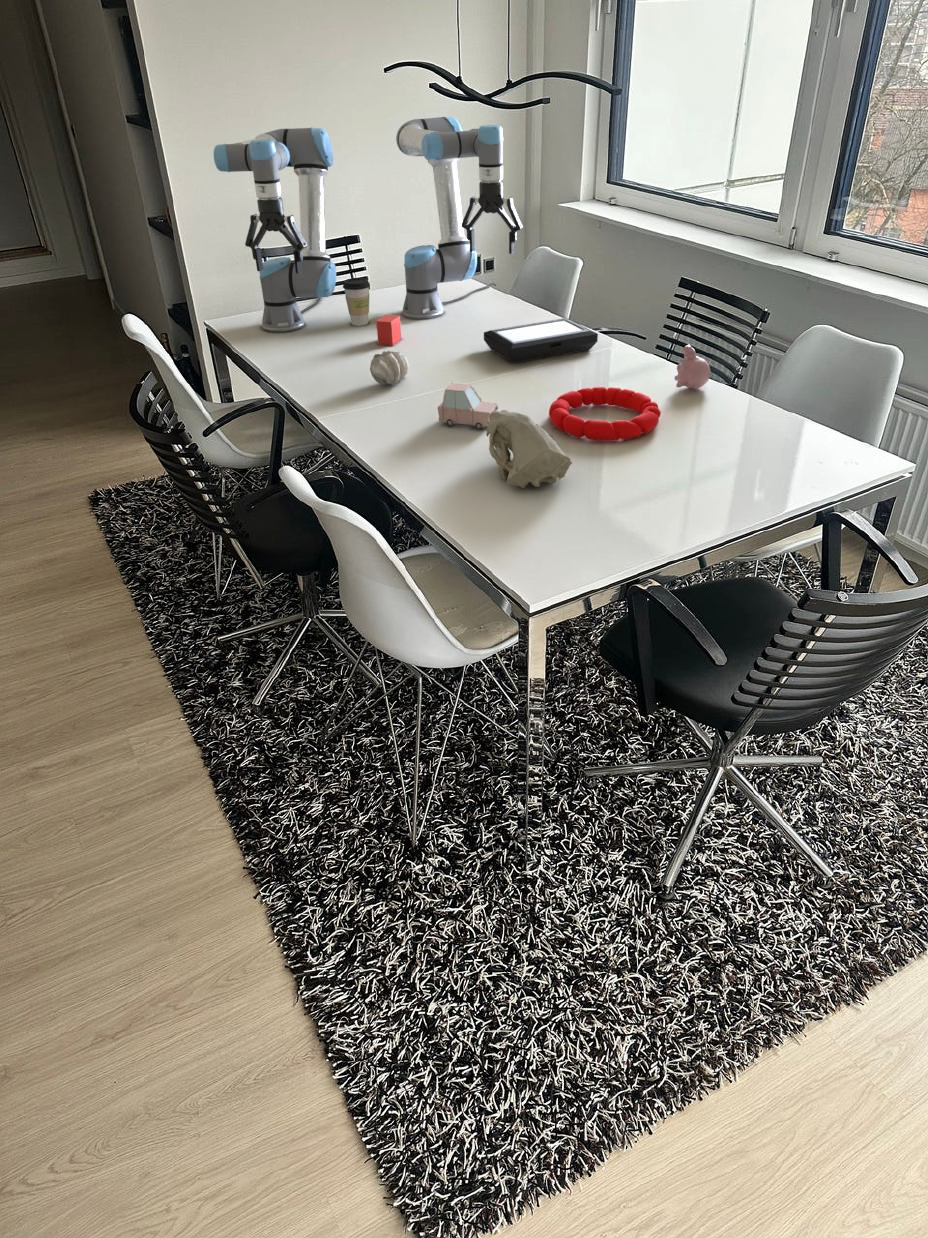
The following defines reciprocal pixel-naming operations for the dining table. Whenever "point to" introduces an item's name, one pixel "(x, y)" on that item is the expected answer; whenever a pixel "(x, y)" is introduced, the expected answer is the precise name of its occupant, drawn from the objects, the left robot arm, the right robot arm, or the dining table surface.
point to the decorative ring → (604, 428)
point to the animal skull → (525, 450)
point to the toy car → (465, 406)
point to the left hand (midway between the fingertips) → (279, 271)
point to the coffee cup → (357, 300)
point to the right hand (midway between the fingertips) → (491, 251)
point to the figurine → (692, 370)
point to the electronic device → (540, 340)
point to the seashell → (389, 367)
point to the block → (388, 330)
